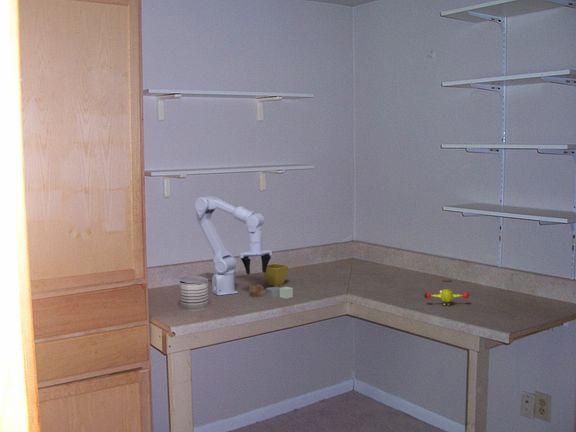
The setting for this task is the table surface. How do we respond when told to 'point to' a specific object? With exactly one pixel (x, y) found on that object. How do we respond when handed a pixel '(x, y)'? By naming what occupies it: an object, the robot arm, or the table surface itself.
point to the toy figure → (446, 295)
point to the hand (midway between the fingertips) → (256, 272)
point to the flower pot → (276, 274)
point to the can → (193, 293)
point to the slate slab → (273, 291)
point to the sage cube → (286, 292)
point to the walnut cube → (256, 291)
